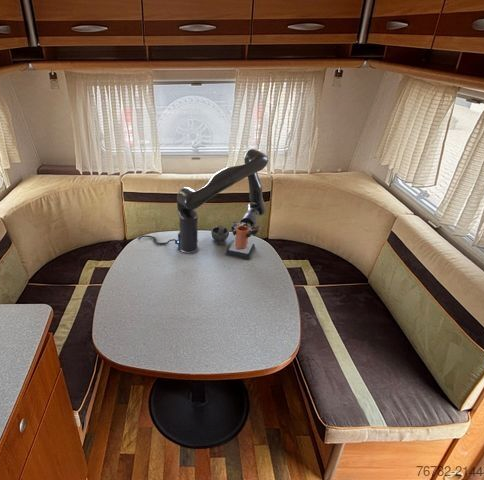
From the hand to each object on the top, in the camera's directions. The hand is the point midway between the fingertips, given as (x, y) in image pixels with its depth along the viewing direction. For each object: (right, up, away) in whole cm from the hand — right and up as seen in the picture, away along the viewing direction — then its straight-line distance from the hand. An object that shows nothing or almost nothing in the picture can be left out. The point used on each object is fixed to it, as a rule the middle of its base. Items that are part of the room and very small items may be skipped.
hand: (241, 234), depth 178 cm
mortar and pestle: (-9, -4, +16) cm, 19 cm away
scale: (+1, -9, +7) cm, 11 cm away
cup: (+1, -5, +6) cm, 8 cm away
